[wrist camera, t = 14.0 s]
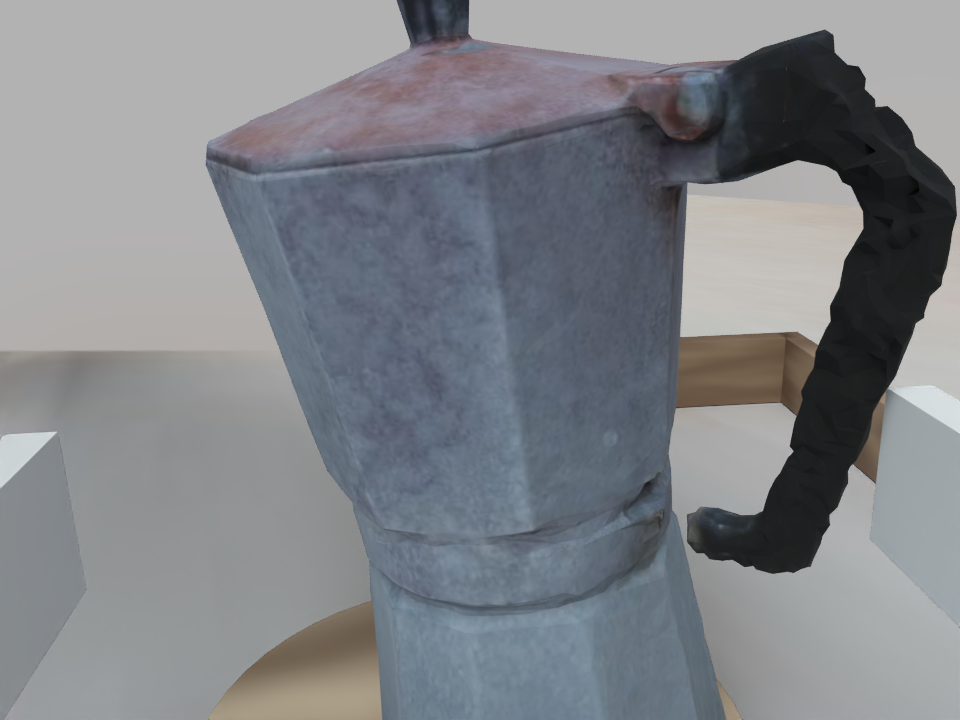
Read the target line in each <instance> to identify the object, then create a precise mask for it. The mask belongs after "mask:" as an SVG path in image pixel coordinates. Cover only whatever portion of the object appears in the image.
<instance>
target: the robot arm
mask: <svg viewBox="0 0 960 720" xmlns="http://www.w3.org/2000/svg"><path fill="white" fill-rule="evenodd" d="M870 540H871V541H872V542H873V543H874V544H875V545H876V546H877V547H878V548H879V549H880V550H881V551H882V552H883V553H884V554H885V555H886V556H887V557H888V558H889V559H890V560H891V561H892V562H893V563H894V564H895V565H896V566H897V567H898V568H899V569H900V570H901V571H902V572H903V573H904V574H905V575H906V576H908V577H909V578H910V579H911V580H912V581H913V582H914V583H915V584H916V585H917V586H918V587H919V588H920V589H921V590H922V591H923V592H924V593H925V594H926V595H927V596H928V597H929V598H930V599H931V600H932V601H933V602H934V603H935V604H936V605H937V606H938V607H939V608H940V609H941V610H942V611H943V612H944V613H945V614H946V615H947V616H948V617H949V618H950V619H951V620H952V621H953V622H954V623H955V624H956V625H957V626H958V627H959V628H960V401H959V400H957V399H955V398H954V397H952V396H950V395H948V394H947V393H945V392H943V391H941V390H940V389H938V388H936V387H934V386H933V385H926V386H908V387H889V388H887V390H886V399H885V408H884V416H883V425H882V434H881V443H880V451H879V460H878V469H877V478H876V487H875V495H874V504H873V513H872V522H871V530H870ZM85 591H86V584H85V579H84V573H83V568H82V562H81V556H80V551H79V545H78V540H77V534H76V529H75V523H74V518H73V512H72V507H71V501H70V495H69V490H68V484H67V479H66V473H65V468H64V462H63V457H62V451H61V446H60V440H59V434H58V432H40V433H21V434H6V435H5V436H4V437H3V438H1V439H0V720H4V718H5V717H6V715H7V714H8V712H9V711H10V709H11V707H12V706H13V704H14V703H15V701H16V700H17V698H18V696H19V695H20V693H21V692H22V690H23V689H24V687H25V685H26V684H27V682H28V681H29V679H30V678H31V676H32V674H33V673H34V671H35V670H36V668H37V667H38V665H39V663H40V662H41V660H42V659H43V657H44V656H45V654H46V653H47V651H48V649H49V648H50V646H51V645H52V643H53V642H54V640H55V638H56V637H57V635H58V634H59V632H60V631H61V629H62V627H63V626H64V624H65V623H66V621H67V620H68V618H69V616H70V615H71V613H72V612H73V610H74V609H75V607H76V605H77V604H78V602H79V601H80V599H81V598H82V596H83V594H84V593H85Z"/></svg>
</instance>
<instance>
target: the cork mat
mask: <svg viewBox="0 0 960 720" xmlns="http://www.w3.org/2000/svg"><path fill="white" fill-rule="evenodd" d="M716 681H717V679H716ZM717 685H718V690H719V694H720V697H721V700H722V704H723V708H724V712H725V716H726V720H742V718H741V716H740V714H739V712H738V710H737V708H736V706H735V704H734V703H733V701H732V700H731V699H730V697H729V696H728V694H727V693H726V691H725V690H724V688H723V687H722V686H721V684H720V683H719V682H718V681H717ZM208 720H382V709H381V693H380V678H379V663H378V651H377V644H376V633H375V622H374V611H373V604H372V601H370V602H366V603H363V604H360V605H358V606H355V607H352V608H349V609H347V610H344V611H341V612H338V613H336V614H334V615H332V616H330V617H327V618H325V619H323V620H321V621H319V622H316V623H314V624H312V625H311V626H309V627H307V628H305V629H304V630H302V631H300V632H298V633H296V634H295V635H293V636H291V637H289V638H288V639H287V640H285V641H284V642H282V643H281V644H279V645H278V646H276V647H275V648H273V649H272V650H271V651H269V652H268V653H266V654H265V655H264V656H263V657H262V658H261V659H259V660H258V661H257V662H256V663H255V664H254V665H252V666H251V667H250V668H249V669H248V670H246V672H245V673H244V674H243V675H242V676H241V677H240V678H239V679H238V680H237V681H236V682H235V683H234V684H233V685H232V686H231V687H230V689H229V690H228V691H227V692H226V693H225V695H224V696H223V698H222V699H221V700H220V702H219V703H218V704H217V706H216V707H215V708H214V710H213V711H212V713H211V714H210V716H209V718H208Z"/></svg>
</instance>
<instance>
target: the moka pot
mask: <svg viewBox="0 0 960 720" xmlns="http://www.w3.org/2000/svg"><path fill="white" fill-rule="evenodd" d="M397 3H398V6H399V9H400V12H401V15H402V18H403V21H404V24H405V27H406V30H407V33H408V36H409V39H410V42H411V44H410V48H409V49H408V50H406V51H404V52H402V53H400V54H398V55H397V56H394V57H392V58H390V59H388V60H386V61H384V62H382V63H379V64H377V65H375V66H373V67H370V68H369V69H366V70H364V71H362V72H360V73H357V74H355V75H353V76H351V77H348V78H346V79H344V80H342V81H340V82H337V83H335V84H333V85H331V86H328V87H326V88H324V89H322V90H320V91H317V92H315V93H313V94H311V95H309V96H306V97H304V98H302V99H300V100H298V101H295V102H293V103H291V104H289V105H287V106H285V107H282V108H280V109H278V110H276V111H274V112H271V113H268V114H266V115H263V116H260V117H258V118H256V119H253V120H251V121H249V122H248V123H246V124H245V125H243V126H240V127H238V128H236V129H234V130H232V131H230V132H228V133H225V134H223V135H221V136H219V137H217V138H215V139H213V140H210V141H209V142H208V144H207V153H206V166H207V169H208V172H209V174H210V177H211V179H212V182H213V184H214V187H215V189H216V192H217V194H218V197H219V199H220V202H221V204H222V207H223V209H224V212H225V214H226V217H227V219H228V222H229V224H230V227H231V229H232V232H233V234H234V236H235V239H236V241H237V243H238V246H239V249H240V251H241V253H242V256H243V258H244V261H245V263H246V266H247V268H248V270H249V273H250V275H251V278H252V280H253V282H254V285H255V287H256V290H257V292H258V295H259V297H260V300H261V302H262V304H263V307H264V309H265V312H266V315H267V317H268V320H269V322H270V325H271V327H272V330H273V333H274V336H275V338H276V341H277V343H278V346H279V349H280V351H281V354H282V357H283V359H284V362H285V365H286V367H287V370H288V373H289V375H290V378H291V380H292V383H293V386H294V388H295V391H296V394H297V396H298V399H299V401H300V404H301V406H302V409H303V412H304V414H305V417H306V419H307V422H308V424H309V427H310V430H311V432H312V434H313V437H314V439H315V442H316V444H317V447H318V449H319V451H320V454H321V456H322V459H323V461H324V464H325V466H326V468H327V471H328V472H329V473H330V475H331V476H332V477H333V479H334V480H335V481H336V483H337V484H338V485H339V486H340V488H341V489H342V490H343V492H344V493H345V494H346V495H347V496H348V497H349V498H350V500H351V501H352V502H353V508H354V512H355V516H356V519H357V522H358V525H359V529H360V532H361V535H362V538H363V542H364V545H365V548H366V552H367V556H368V558H369V566H370V589H371V597H372V604H373V611H374V622H375V633H376V644H377V651H378V663H379V678H380V693H381V709H382V720H726V716H725V712H724V708H723V704H722V700H721V697H720V694H719V690H718V685H717V681H716V677H715V673H714V669H713V665H712V661H711V657H710V654H709V650H708V647H707V644H706V641H705V637H704V630H703V623H702V618H701V615H700V611H699V608H698V604H697V600H696V597H695V593H694V589H693V584H692V580H691V575H690V570H689V565H688V561H687V557H686V553H685V549H684V544H683V540H682V536H681V531H680V527H679V523H678V520H677V516H676V514H675V513H674V512H673V511H672V490H671V467H670V461H669V455H668V452H669V444H670V435H671V430H672V426H673V422H674V414H675V409H676V404H677V391H678V367H679V345H680V324H681V306H682V283H683V259H684V241H685V223H686V203H687V182H690V183H699V184H714V183H724V182H734V181H740V180H742V179H745V178H748V177H751V176H753V175H756V174H759V173H762V172H764V171H767V170H770V169H772V168H775V167H778V166H781V165H784V164H787V163H790V162H793V161H796V160H801V161H805V162H810V163H815V164H820V165H825V166H827V167H829V168H831V169H833V170H835V171H836V172H837V173H838V174H839V176H840V178H841V180H842V182H843V183H845V184H847V185H850V186H851V187H852V189H853V191H854V193H855V195H856V198H857V200H858V202H859V204H860V206H861V208H862V210H863V226H864V229H863V230H862V232H861V234H860V236H859V237H858V239H857V241H856V242H855V244H854V246H853V247H852V249H851V251H850V252H849V254H848V255H847V257H846V259H845V261H844V266H843V271H842V277H841V282H840V287H839V289H838V291H837V293H836V295H835V297H834V299H833V301H832V303H831V305H830V316H831V322H830V323H829V325H828V327H827V328H826V330H825V332H824V334H823V336H822V339H821V341H820V343H819V345H818V347H817V349H816V352H815V361H814V368H813V369H812V371H811V373H810V374H809V376H808V378H807V380H806V382H805V384H804V386H803V388H802V390H801V395H802V399H803V400H802V403H801V406H800V409H799V411H798V414H797V417H796V420H795V423H794V428H793V433H792V438H791V443H790V447H791V448H792V449H793V451H794V452H793V453H792V454H791V455H790V456H789V457H788V459H787V461H786V463H785V465H784V467H783V469H782V471H781V472H780V474H779V475H778V477H777V478H776V479H775V481H774V483H773V485H772V487H771V488H770V490H769V493H768V496H767V499H766V502H765V506H764V509H763V511H762V512H760V513H758V514H756V515H738V514H735V513H732V512H729V511H725V510H722V509H719V508H709V507H700V508H699V509H698V510H697V512H694V513H691V514H687V523H688V526H687V542H688V544H689V545H690V546H691V547H692V548H693V550H694V551H695V552H696V553H705V555H706V556H707V557H708V558H709V559H713V560H721V561H724V560H734V561H736V562H737V563H739V564H740V565H742V566H744V567H749V566H754V567H755V569H757V570H761V571H764V572H768V573H772V574H775V573H781V572H792V573H795V572H796V571H798V570H800V569H803V568H806V567H811V564H812V561H813V559H814V556H815V554H816V552H817V550H818V548H819V546H820V544H821V540H822V536H823V534H824V533H825V531H826V530H827V529H828V527H829V526H830V522H829V515H830V514H831V513H832V512H833V511H834V510H835V509H836V508H837V507H838V504H839V502H840V499H841V497H842V494H843V492H844V490H845V488H846V486H847V484H848V470H849V468H850V466H851V465H852V464H853V463H854V462H855V461H856V460H857V458H858V456H859V455H860V453H861V451H862V449H863V447H864V445H865V444H866V442H867V440H868V437H869V433H870V429H871V423H872V416H873V412H874V410H875V408H876V406H877V405H878V403H879V401H880V399H881V397H882V396H883V394H884V393H885V391H886V390H887V388H888V387H889V385H890V384H891V382H892V381H893V379H894V377H895V376H896V374H897V371H898V368H899V366H900V363H901V361H902V358H903V356H904V353H905V351H906V349H907V346H908V344H909V341H910V339H911V337H912V334H913V331H914V327H915V324H916V323H917V322H918V321H920V320H921V319H923V318H924V312H925V309H926V306H927V303H928V300H929V297H930V296H931V295H932V294H933V293H934V292H935V291H936V290H937V289H938V288H939V287H940V286H941V284H942V277H943V274H944V272H945V269H946V266H947V261H948V256H949V251H950V244H951V237H952V231H953V227H954V223H955V220H956V216H957V211H956V197H955V186H954V185H953V184H952V182H951V181H950V180H949V178H948V177H947V176H946V175H945V173H944V172H943V170H942V169H941V168H940V167H939V166H938V165H937V164H935V163H934V162H933V161H932V160H931V159H930V158H928V157H927V156H926V155H925V154H924V153H923V152H922V151H920V150H919V149H918V148H917V147H916V146H915V143H914V139H913V134H912V132H911V130H910V129H909V128H908V126H907V125H906V123H905V122H904V120H903V119H902V118H901V117H900V116H899V115H898V114H896V113H895V112H894V111H893V110H891V109H890V108H889V107H888V106H884V107H875V99H874V98H873V97H872V96H871V95H870V94H869V93H868V92H867V91H866V90H865V80H866V78H865V76H864V75H863V73H862V71H861V70H860V68H859V67H858V66H851V65H847V64H846V63H845V62H844V61H843V60H842V59H841V58H840V57H839V56H837V55H836V53H835V51H834V38H833V37H834V36H833V34H831V33H830V32H828V31H826V30H822V31H818V32H815V33H811V34H808V35H805V36H801V37H797V38H794V39H791V40H787V41H784V42H780V43H777V44H774V45H770V46H767V47H763V48H761V49H759V50H757V51H755V52H753V53H751V54H749V55H747V56H745V57H744V58H741V59H740V60H731V61H709V62H694V63H682V64H673V65H666V64H659V63H651V62H644V61H636V60H627V59H618V58H610V57H601V56H591V55H584V54H576V53H568V52H560V51H551V50H543V49H536V48H528V47H521V46H513V45H505V44H497V43H490V42H485V41H480V40H474V39H472V38H471V36H470V35H469V34H468V28H469V25H468V24H469V0H397Z"/></svg>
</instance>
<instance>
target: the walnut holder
mask: <svg viewBox="0 0 960 720" xmlns="http://www.w3.org/2000/svg"><path fill="white" fill-rule="evenodd" d="M817 347H818V345H817V344H815V343H814V342H812V341H811V340H809V339H808V338H806V337H804V336H803V335H801V334H800V333H798V332H784V333H763V334H742V335H720V336H699V337H680V345H679V367H678V391H677V404H676V407H694V406H713V405H732V404H751V403H770V402H782V403H783V404H784V405H785V406H786V407H787V408H789V409H790V410H791V411H792V412H793V413H794V414H796V415H797V414H798V411H799V409H800V406H801V403H802V400H803V399H802V395H801V390H802V388H803V386H804V384H805V382H806V380H807V378H808V376H809V374H810V373H811V371H812V369H813V368H814V361H815V352H816V349H817ZM885 399H886V391H885V393H884V394H883V396H882V397H881V399H880V401H879V403H878V405H877V406H876V408H875V410H874V412H873V416H872V423H871V429H870V433H869V437H868V440H867V442H866V444H865V445H864V447H863V449H862V451H861V453H860V455H859V456H858V458H857V460H856V461H855V462H854V463H853V464H854V465H855V466H856V467H858V468H859V469H860V470H861V471H862V472H863V473H865V474H866V475H867V476H868V477H869V478H871V479H872V480H873V481H874V482H875V483H876V478H877V469H878V460H879V451H880V443H881V434H882V425H883V416H884V408H885Z"/></svg>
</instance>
